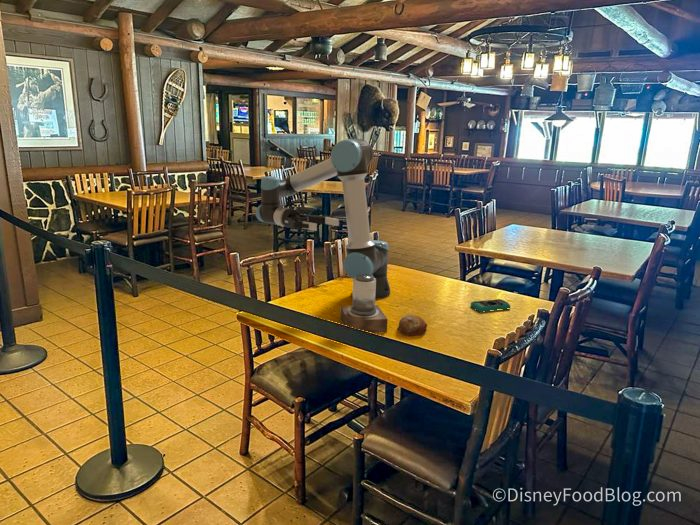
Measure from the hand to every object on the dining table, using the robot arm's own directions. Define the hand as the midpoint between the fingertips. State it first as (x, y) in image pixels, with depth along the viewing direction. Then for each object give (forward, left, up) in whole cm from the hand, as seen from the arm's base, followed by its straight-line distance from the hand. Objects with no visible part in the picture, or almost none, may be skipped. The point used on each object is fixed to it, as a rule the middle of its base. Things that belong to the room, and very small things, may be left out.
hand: (327, 224), depth 193 cm
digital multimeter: (-65, +12, -33) cm, 74 cm away
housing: (-10, +24, -27) cm, 37 cm away
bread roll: (-26, +31, -32) cm, 52 cm away
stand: (-10, +24, -32) cm, 41 cm away
